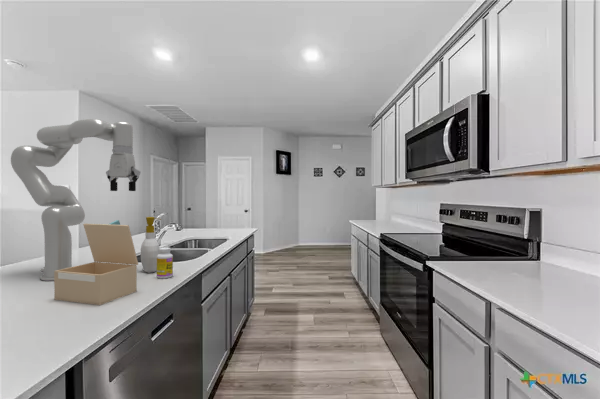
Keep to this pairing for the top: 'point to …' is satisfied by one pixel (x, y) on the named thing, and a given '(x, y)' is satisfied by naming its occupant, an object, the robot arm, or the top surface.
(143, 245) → the soap bottle
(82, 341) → the top surface
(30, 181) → the robot arm
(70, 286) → the carton
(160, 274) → the supplement bottle
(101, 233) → the lid
